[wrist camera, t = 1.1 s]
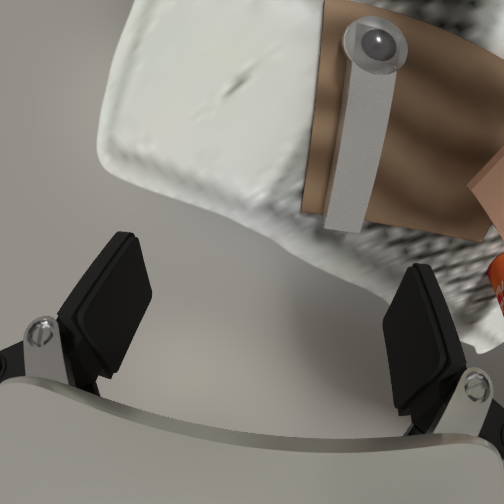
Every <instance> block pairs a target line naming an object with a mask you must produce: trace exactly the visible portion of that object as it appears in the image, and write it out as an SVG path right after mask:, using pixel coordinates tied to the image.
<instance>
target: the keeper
mask: <svg viewBox="0 0 504 504" xmlns="http://www.w3.org/2000/svg"><path fill="white" fill-rule="evenodd" d="M467 186H468V188H469V189H470V190H471V192H472V193H473V194H474V196H475V197H476V199H477V200H478V201H479V203H480V204H481V206H482V207H483V209H484V210H485V212H486V213H487V215H488V216H489V218H490V220H491V221H492V223H493V224H494V226H495V227H496V229H497V231H498V232H499V234H500V236H501V237H502V239H503V241H504V145H503V146H502V148H501V149H500V150H499V151H498V152H497V153H496V154H495V155H494V156H493V158H492V159H491V160H490V161H489V162H488V163H487V164H486V165H485V166H484V167H483V168H482V169H481V170H480V171H479V172H478V173H477V175H476V176H475V177H474V178H473V179H472V180H471V181H470V182H469V183H468V184H467Z"/></svg>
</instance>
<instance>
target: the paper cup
mask: <svg viewBox="0 0 504 504" xmlns="http://www.w3.org/2000/svg"><path fill="white" fill-rule="evenodd" d="M488 276H489V279H490V281H491V284H492V287H493V289H494V292H495V294H496V297H497V300H498V302H499V305H500V308H501V310H502V313H503V316H504V253H502V254H500V255H499V256H497V257H496V258H495V259H494V260H493V261H492V263H491V264H490V266H489V269H488Z"/></svg>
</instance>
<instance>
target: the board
mask: <svg viewBox="0 0 504 504" xmlns="http://www.w3.org/2000/svg"><path fill="white" fill-rule="evenodd" d="M366 16H378V17H382V18H385V19H387V20H389V21H390V22H392V23H393V24H395V25H396V26H397V27H398V28H399V29H400V30H401V32H402V33H403V35H404V37H405V39H406V42H407V46H408V54H407V58H406V61H405V63H404V64H403V66H402V67H401V68H400V69H399V70H397V73H396V80H395V86H394V92H393V98H392V103H391V109H390V114H389V119H388V124H387V129H386V134H385V139H384V143H383V148H382V152H381V156H380V161H379V165H378V169H377V173H376V177H375V181H374V185H373V189H372V192H371V196H370V200H369V203H368V207H367V210H366V214H365V217H364V221H369V222H375V223H381V224H387V225H393V226H398V227H404V228H410V229H415V230H420V231H426V232H431V233H436V234H441V235H446V236H451V237H456V238H461V239H466V240H471V241H475V242H480V243H482V241H483V239H484V237H485V235H486V233H487V231H488V229H489V227H490V225H491V223H492V221H491V220H490V218H489V216H488V215H487V213H486V212H485V210H484V209H483V207H482V206H481V204H480V203H479V201H478V200H477V199H476V197H475V196H474V194H473V193H472V192H471V190H470V189H469V188H468V186H467V184H468V183H469V182H470V181H471V180H472V179H473V178H474V177H475V176H476V175H477V173H478V172H479V171H480V170H481V169H482V168H483V167H484V166H485V165H486V164H487V163H488V162H489V161H490V160H491V159H492V158H493V156H494V155H495V154H496V153H497V152H498V151H499V150H500V149H501V148H502V146H503V145H504V60H503V59H501V58H500V57H498V56H496V55H495V54H493V53H491V52H489V51H487V50H485V49H484V48H482V47H480V46H478V45H476V44H474V43H472V42H470V41H468V40H466V39H464V38H462V37H459V36H457V35H455V34H453V33H450V32H448V31H446V30H443V29H441V28H439V27H436V26H434V25H431V24H428V23H426V22H423V21H420V20H417V19H414V18H412V17H409V16H405V15H402V14H399V13H396V12H392V11H389V10H385V9H382V8H378V7H374V6H370V5H366V4H361V3H357V2H352V1H347V0H324V12H323V26H322V38H321V50H320V61H319V71H318V81H317V91H316V100H315V109H314V117H313V126H312V134H311V142H310V149H309V157H308V164H307V172H306V179H305V186H304V192H303V199H302V206H301V212H308V213H315V214H322V215H323V208H324V203H325V198H326V193H327V187H328V182H329V177H330V171H331V166H332V160H333V154H334V148H335V142H336V136H337V129H338V123H339V116H340V109H341V102H342V95H343V87H344V79H345V71H346V62H347V58H346V57H345V56H344V54H343V52H342V49H341V43H340V40H341V35H342V32H343V30H344V29H345V27H346V26H347V25H349V24H350V23H352V22H353V21H355V20H357V19H359V18H362V17H366Z"/></svg>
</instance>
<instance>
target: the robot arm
mask: <svg viewBox="0 0 504 504" xmlns="http://www.w3.org/2000/svg"><path fill="white" fill-rule="evenodd" d="M151 298H152V290H151V286H150V283H149V279H148V275H147V271H146V267H145V263H144V259H143V255H142V251H141V247H140V243H139V239H138V238H137V237H135V235H134V234H133V233H130V232H121V231H119V232H117V233H115V235H114V236H113V237H112V239H111V240H110V241H109V242H108V244H107V245H106V246H105V247H104V249H103V250H102V251H101V253H100V254H99V255H98V257H97V258H96V259H95V260H94V262H93V263H92V264H91V266H90V267H89V268H88V270H87V271H86V272H85V274H84V275H83V276H82V278H81V279H80V281H79V282H78V283H77V285H76V286H75V288H74V289H73V291H72V292H71V293H70V295H69V296H68V298H67V299H66V301H65V302H64V304H63V305H62V307H61V308H60V310H59V312H58V313H57V315H58V318H57V319H56V320H55V319H54V318H53V317H50V316H42V317H39V318H37V319H35V320H33V321H32V322H31V323H30V324H29V325H28V327H27V328H26V330H25V333H24V338H23V341H21V342H19V343H17V344H14V345H12V346H10V347H8V348H6V349H3V350H1V351H0V504H504V408H503V407H502V406H501V405H500V404H498V403H497V402H496V401H495V400H494V399H493V385H492V382H491V379H490V378H489V376H488V375H487V374H486V373H485V372H484V371H483V370H481V369H479V368H469V369H467V368H466V360H465V356H464V352H463V349H462V346H461V343H460V340H459V337H458V334H457V331H456V328H455V325H454V322H453V320H452V317H451V314H450V312H449V309H448V306H447V304H446V301H445V299H444V296H443V294H442V291H441V289H440V287H439V284H438V282H437V279H436V277H435V275H434V273H433V270H432V268H431V266H430V265H427V264H419V263H414V264H413V265H412V267H408V268H407V270H406V273H405V275H404V277H403V279H402V281H401V284H400V286H399V288H398V290H397V292H396V294H395V296H394V298H393V301H392V303H391V305H390V307H389V309H388V311H387V313H386V315H385V317H384V319H383V331H384V337H385V343H386V349H387V355H388V362H389V369H390V376H391V384H392V392H393V400H394V406H395V408H397V409H398V413H399V416H405V415H411V419H412V423H411V424H410V426H409V427H408V429H407V431H406V432H405V433H404V435H403V436H401V437H385V438H362V439H319V438H299V437H285V436H284V437H283V436H273V435H264V434H255V433H247V432H240V431H233V430H227V429H221V428H216V427H210V426H205V425H200V424H195V423H191V422H186V421H182V420H177V419H173V418H169V417H165V416H161V415H158V414H154V413H150V412H147V411H143V410H140V409H137V408H133V407H130V406H127V405H124V404H121V403H118V402H115V401H111V400H109V399H106V398H102V397H101V396H100V393H99V390H98V386H97V383H96V379H97V377H98V375H99V376H102V377H105V378H108V379H111V378H112V375H113V373H116V372H117V371H118V370H119V368H120V365H121V363H122V361H123V359H124V356H125V354H126V352H127V350H128V348H129V345H130V343H131V341H132V339H133V336H134V334H135V332H136V330H137V328H138V326H139V324H140V322H141V320H142V318H143V316H144V314H145V311H146V309H147V307H148V305H149V303H150V301H151Z"/></svg>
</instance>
